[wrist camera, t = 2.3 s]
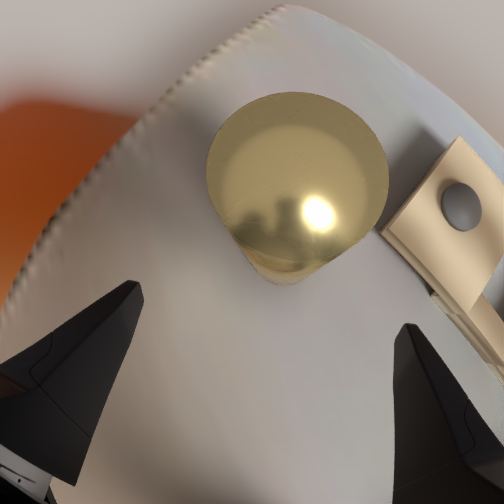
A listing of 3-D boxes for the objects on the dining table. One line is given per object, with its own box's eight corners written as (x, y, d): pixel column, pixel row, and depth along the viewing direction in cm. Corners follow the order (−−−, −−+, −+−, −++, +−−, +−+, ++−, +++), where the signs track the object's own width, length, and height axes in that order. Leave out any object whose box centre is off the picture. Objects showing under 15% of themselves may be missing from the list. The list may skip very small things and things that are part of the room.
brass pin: (268, 296, 21) (255, 294, 7) (240, 237, 21) (180, 134, 7) (328, 267, 21) (420, 210, 7) (298, 209, 21) (329, 73, 7)
